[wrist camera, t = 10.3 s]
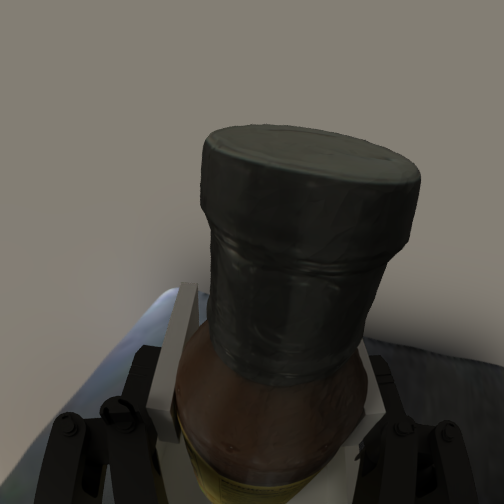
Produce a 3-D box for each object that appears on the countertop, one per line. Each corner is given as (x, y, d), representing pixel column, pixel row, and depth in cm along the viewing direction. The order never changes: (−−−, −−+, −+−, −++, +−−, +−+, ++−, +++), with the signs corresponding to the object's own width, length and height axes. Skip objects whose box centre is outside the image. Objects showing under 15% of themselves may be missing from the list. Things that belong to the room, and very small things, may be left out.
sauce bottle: (222, 429, 19) (241, 111, 9) (305, 458, 17) (441, 153, 7) (179, 498, 14) (67, 141, 4) (272, 535, 12) (546, 251, 2)
